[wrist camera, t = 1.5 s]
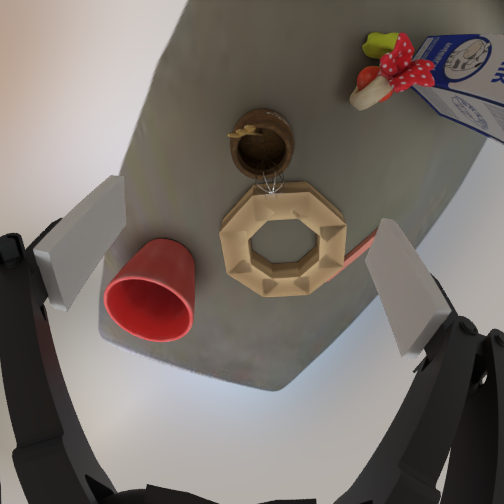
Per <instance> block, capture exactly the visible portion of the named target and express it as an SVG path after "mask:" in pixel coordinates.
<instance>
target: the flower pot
mask: <svg viewBox="0 0 504 504" xmlns="http://www.w3.org/2000/svg"><path fill="white" fill-rule="evenodd" d="M104 304H105V307H106V310H107V312H108V313H109V315H110V316H111V318H112V319H113V320H114V321H115V322H116V323H117V324H118V325H119V326H120V327H121V328H123V329H124V330H126V331H127V332H129V333H130V334H132V335H134V336H137V337H139V338H142V339H145V340H149V341H155V342H168V341H173V340H177V339H179V338H181V337H183V336H184V335H186V334H187V333H188V332H189V330H190V329H191V327H192V325H193V319H194V304H195V264H194V260H193V257H192V255H191V254H190V252H189V251H188V250H187V249H186V248H185V247H184V246H183V245H181V244H180V243H178V242H176V241H173V240H169V239H155V240H152V241H150V242H148V243H147V244H146V245H145V246H144V247H142V248H141V249H140V250H139V251H138V252H137V253H136V254H135V255H134V256H133V257H132V258H131V259H130V260H129V262H128V263H127V264H126V265H125V266H124V267H123V268H122V269H121V270H120V272H119V273H118V274H117V275H116V276H115V277H114V279H113V280H112V281H111V282H110V283H109V285H108V286H107V288H106V290H105V293H104Z"/></svg>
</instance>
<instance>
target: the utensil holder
mask: <svg viewBox="0 0 504 504" xmlns="http://www.w3.org/2000/svg"><path fill="white" fill-rule="evenodd" d="M227 136H228V137H231V138H230V149H231V155H232V159H233V161H234V164H235V165H236V167H237V168H238V169H239V170H240V171H241V172H242V173H243V174H244V175H246V176H248V177H250V178H253V179H255V180H256V179H258V180H265V181H266V180H267V179H271V178H272V180H273V178H274V177H275V180H276V176H278V175H279V176H280V174H281V173H282V174H283V171H284V170H285V169H286V168H287V167H288V165H289V163H290V161H291V158H292V155H293V152H294V136H293V133H292V130H291V128H290V126H289V124H288V122H287V121H286V119H285V118H284V117H283V116H281V115H280V114H279V113H277V112H275V111H272V110H269V109H256V110H253V111H250V112H248V113H246V114H245V115H244V116H242V117H241V118H240V120H239V121H238V122H237V124H236V125H235V127H234V129H233V132H232V133H230V134H228V135H227ZM280 177H281V176H280ZM281 179H282V178H281ZM282 182H283V183H284V176H283V180H282ZM256 183H257V182H256ZM266 183H267V182H266ZM273 183H274V187H275V182H274V181H273ZM283 183H282V185H283V187H284V184H283ZM257 185H258V184H257ZM282 185H281V186H282ZM258 186H259V185H258ZM267 186H268V184H267ZM281 186H280V187H281ZM259 187H260V186H259ZM274 187H273V189H274ZM280 187H279V188H280ZM260 188H261V187H260ZM268 188H269V186H268ZM279 188H278V189H279ZM261 189H262V188H261ZM278 189H277V190H278ZM256 190H257V187H256ZM263 190H264V189H263ZM269 190H270V188H269ZM277 190H276V189H275V191H274V192H276V191H277ZM265 191H266V190H264V193H265ZM272 191H273V190H272ZM266 192H268V191H266ZM283 192H284V191H283ZM283 192H282V193H283ZM257 193H258V192H257ZM272 193H273V192H271V190H270V192H269V194H272ZM258 194H259V193H258ZM273 194H277V193H273ZM273 194H272V195H273ZM278 194H281V193H278ZM260 195H262V194H260ZM266 195H268V194H266ZM270 196H271V195H270ZM270 196H269V198H270ZM273 197H274V195H273ZM265 198H266V196H265ZM269 198H268V199H269ZM274 198H275V197H274ZM276 198H277V195H276ZM276 198H275V199H276Z"/></svg>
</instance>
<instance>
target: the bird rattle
mask: <svg viewBox="0 0 504 504" xmlns="http://www.w3.org/2000/svg"><path fill="white" fill-rule="evenodd" d="M362 49H363V51H364V53H365V54H366V56H368V57H371V58H376V59H380V65H379V66H369V67H366V68H364V69H363V70H362V71H361V72H360V73H359V75H358V77H357V86H356V89H355V90H354V91H353V93H352V94H351V96H350V103H351V105H352V106H353V107H354V108H355V109H357V110H360V111H361V110H365V109H367V108H369V107H371V106H372V105H374V104H375V103H377V102H382V101H385V100H387V99H388V98H389V97H390V96H391V95H392V93H393V91H394V92H402V91H404V90H406V89H408V88H409V87H411V86H412V85H414V84H416V85H420V86H424V87H432V86H434V85H435V81H434V78H433V76H432V74H431V73H430V70H432V69H433V68H434V67H435V66H434V63H433V62H432V61H430V60H424V59H418V60H415V61H412V56H413V54H414V50H415V48H414V47H413V46H412V44H411V42H410V40H409V38H408V36H407V35H406V34H405V33H400V34H399V33H389V34H382V33H378V32H374V33H370V34H369V35H368V40H367V42H366V43H365V44H363V45H362Z"/></svg>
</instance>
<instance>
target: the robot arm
mask: <svg viewBox="0 0 504 504" xmlns="http://www.w3.org/2000/svg"><path fill="white" fill-rule="evenodd" d="M125 226H126V210H125V187H124V176H113V175H111V176H110V177H109V178H107V179H106V180H105V181H104V182H102V183H101V184H100V185H99V186H98V187H97V188H96V189H94V191H92V192H91V193H90V194H89V195H88V196H86V197H85V198H84V199H83V200H82V201H81V202H80V203H79V204H78V205H77V206H75V207H74V208H73V209H72V210H71V211H70V212H69V213H68V214H67V215H66V216H65V217H64V218H60V219H58V220H56V221H54V222H52V223H51V224H50V225H49V226H48V227H47V228H46V229H45V231H43V232H42V233H41V234H40V236H38V237H37V238H36V239H35V240H34V241H33V242H32V243H31V244H30V245H29V247H27V248H26V250H25V247H24V244H23V241H22V237H21V235H20V234H18V233H9V234H6V235H3V236H1V237H0V362H1V369H2V377H3V383H4V389H5V395H6V400H7V405H8V410H9V414H10V419H11V423H12V427H13V431H14V434H15V438H16V442H17V447H16V449H14V450H13V452H12V458H13V462H14V467H15V469H16V472H17V475H18V478H19V481H20V484H21V486H22V489H23V491H24V494H25V496H26V499H27V501H28V503H29V504H219V503H215V502H213V501H210V500H207V499H204V498H202V497H199V496H196V495H194V494H191V493H188V492H183V491H177V490H171V489H167V488H162V487H157V486H153V485H149V484H147V487H146V489H134V490H128V491H123V492H119V493H117V491H116V489H115V488H114V486H113V484H112V483H111V481H110V479H109V478H108V476H107V475H106V473H105V472H104V470H103V469H102V468H101V467H100V465H99V463H98V461H97V460H96V458H95V456H94V454H93V452H92V450H91V447H90V445H89V443H88V441H87V439H86V436H85V434H84V432H83V429H82V427H81V425H80V422H79V420H78V417H77V415H76V412H75V410H74V407H73V404H72V401H71V399H70V396H69V393H68V390H67V387H66V384H65V381H64V378H63V375H62V372H61V368H60V365H59V362H58V358H57V355H56V351H55V347H54V343H53V339H52V335H51V331H50V326H49V322H48V317H47V312H46V308H45V306H44V302H45V300H46V299H47V297H48V298H49V300H50V303H51V305H52V307H53V308H56V309H59V310H63V311H66V312H67V311H68V310H69V308H70V306H71V305H72V303H73V302H74V300H75V298H76V297H77V295H78V294H79V292H80V290H81V289H82V287H83V286H84V284H85V283H86V281H87V280H88V278H89V277H90V275H91V274H92V272H93V271H94V269H95V268H96V266H97V265H98V263H99V262H100V260H101V259H102V257H103V256H104V255H105V253H106V252H107V250H108V249H109V247H110V246H111V245H112V243H113V242H114V240H115V239H116V238H117V236H118V235H119V234H120V232H121V231H122V230H123V228H124V227H125ZM365 263H366V265H367V267H368V270H369V272H370V274H371V277H372V279H373V282H374V284H375V286H376V289H377V291H378V294H379V296H380V299H381V302H382V304H383V307H384V309H385V312H386V315H387V317H388V320H389V323H390V325H391V328H392V331H393V334H394V336H395V339H396V342H397V345H398V348H399V351H400V354H401V357H402V358H417V356H418V355H419V354H420V353H421V351H422V350H423V349H424V350H425V352H426V357H425V358H424V359H423V360H422V361H421V363H420V364H419V365H418V366H417V367H416V368H415V370H414V371H413V372H414V373H415V372H416V371H417V370H418V371H417V374H416V376H415V378H414V380H413V382H412V385H411V387H410V389H409V391H408V393H407V395H406V397H405V399H404V401H403V403H402V405H401V407H400V409H399V411H398V413H397V414H396V416H395V418H394V420H393V422H392V424H391V425H390V427H389V429H388V431H387V432H386V434H385V436H384V438H383V439H382V441H381V443H380V444H379V446H378V448H377V449H376V451H375V453H374V454H373V455H372V457H371V459H370V460H369V462H368V463H367V465H366V466H365V468H364V469H363V471H362V472H361V474H360V475H359V476H358V478H357V479H356V481H355V482H354V483H353V485H352V486H351V487H350V488H349V490H348V491H347V492H345V493H344V494H343V495H342V496H341V497H339V498H338V499H337V500H336V501H335V502H334V503H333V504H438V503H439V501H440V497H441V495H440V494H441V493H440V491H438V490H437V489H436V483H437V480H438V478H439V476H440V473H441V471H442V469H443V466H444V463H445V461H446V459H447V456H448V454H449V451H450V448H451V451H450V458H449V464H448V470H447V475H446V480H445V484H444V489H443V493H442V498H441V502H440V504H504V333H503V332H502V331H500V330H498V329H492V330H491V331H490V333H489V334H488V335H487V336H484V335H481V334H479V333H478V330H477V328H476V326H475V325H474V324H473V322H471V321H470V320H469V319H467V318H466V317H464V316H458V314H457V312H456V311H455V309H454V307H453V305H452V303H451V302H450V300H449V298H448V297H447V295H446V293H445V291H444V290H443V288H442V286H441V285H440V283H439V281H438V280H437V279H436V278H435V277H434V276H433V275H432V274H431V273H429V271H428V270H427V268H426V266H425V265H424V263H423V262H422V260H421V259H420V257H419V255H418V254H417V252H416V251H415V249H414V248H413V246H412V245H411V243H410V242H409V240H408V239H407V237H406V236H405V235H404V233H403V232H402V230H401V229H400V227H399V226H398V225H397V223H396V222H395V221H394V220H390V219H386V218H382V220H381V223H380V225H379V228H378V230H377V233H376V235H375V238H374V240H373V243H372V245H371V247H370V250H369V252H368V255H367V257H366V259H365ZM486 375H487V378H486V381H485V383H484V384H483V383H482V379H483V378H484V377H485V376H486ZM0 504H1V484H0ZM259 504H316V499H299V500H274V501H269V502H264V503H259Z"/></svg>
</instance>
